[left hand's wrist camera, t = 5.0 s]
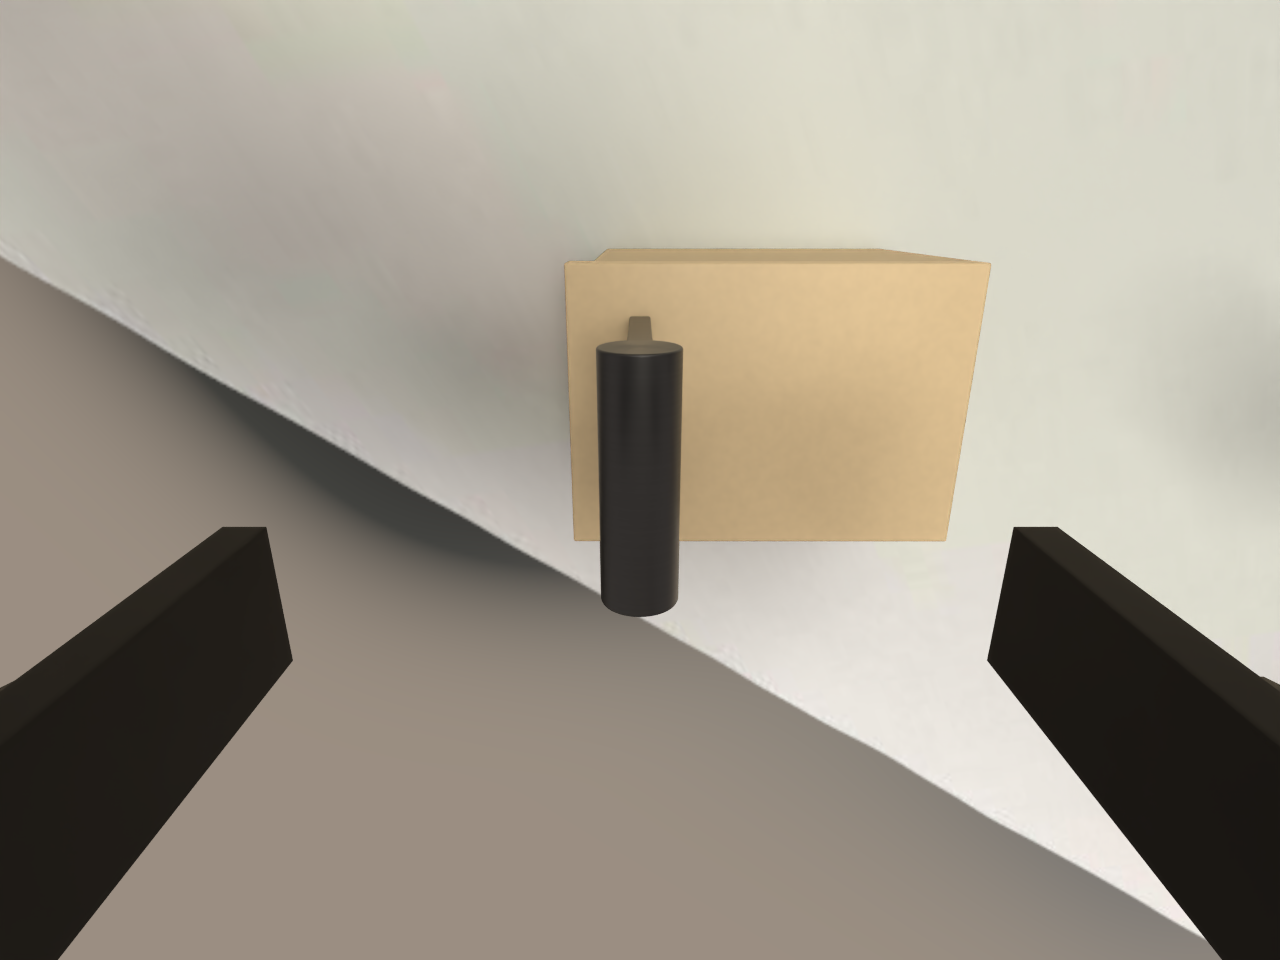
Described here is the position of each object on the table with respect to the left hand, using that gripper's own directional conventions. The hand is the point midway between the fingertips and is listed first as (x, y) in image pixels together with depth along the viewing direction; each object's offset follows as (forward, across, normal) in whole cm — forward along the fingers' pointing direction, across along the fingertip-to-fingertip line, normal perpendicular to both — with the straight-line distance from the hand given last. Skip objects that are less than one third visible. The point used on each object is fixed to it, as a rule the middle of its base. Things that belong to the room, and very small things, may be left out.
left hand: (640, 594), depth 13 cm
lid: (+14, +4, 0) cm, 15 cm away
